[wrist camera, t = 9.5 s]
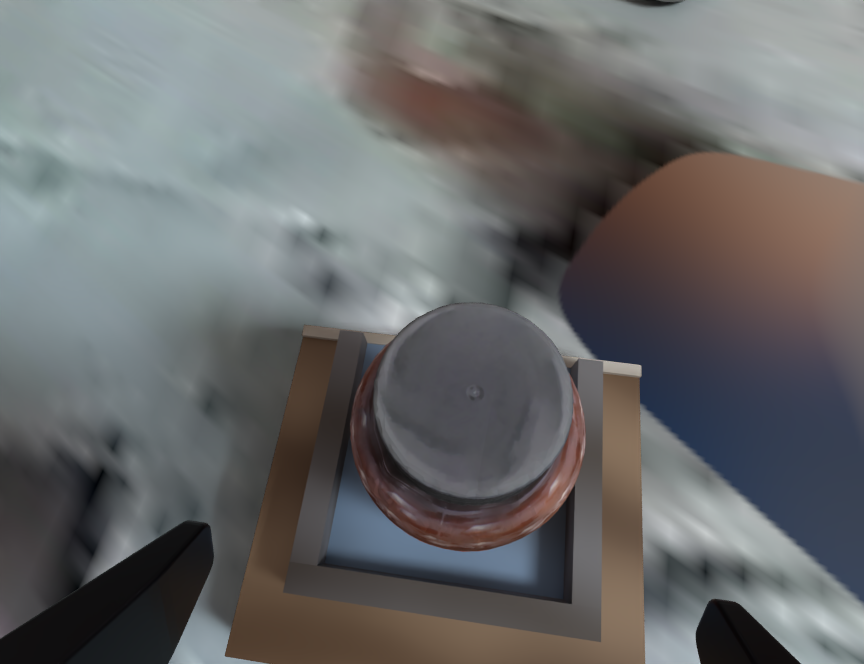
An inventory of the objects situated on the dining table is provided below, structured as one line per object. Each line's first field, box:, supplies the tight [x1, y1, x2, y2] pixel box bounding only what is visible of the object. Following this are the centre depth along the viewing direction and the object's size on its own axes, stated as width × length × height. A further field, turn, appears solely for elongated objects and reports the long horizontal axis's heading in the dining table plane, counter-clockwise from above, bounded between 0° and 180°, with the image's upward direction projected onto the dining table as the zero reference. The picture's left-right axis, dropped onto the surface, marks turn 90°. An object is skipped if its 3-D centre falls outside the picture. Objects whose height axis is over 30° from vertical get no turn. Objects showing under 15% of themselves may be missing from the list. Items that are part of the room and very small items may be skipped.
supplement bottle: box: [350, 303, 586, 552], centre depth 15 cm, size 6×6×11 cm
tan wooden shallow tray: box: [225, 325, 645, 664], centre depth 20 cm, size 13×15×4 cm
